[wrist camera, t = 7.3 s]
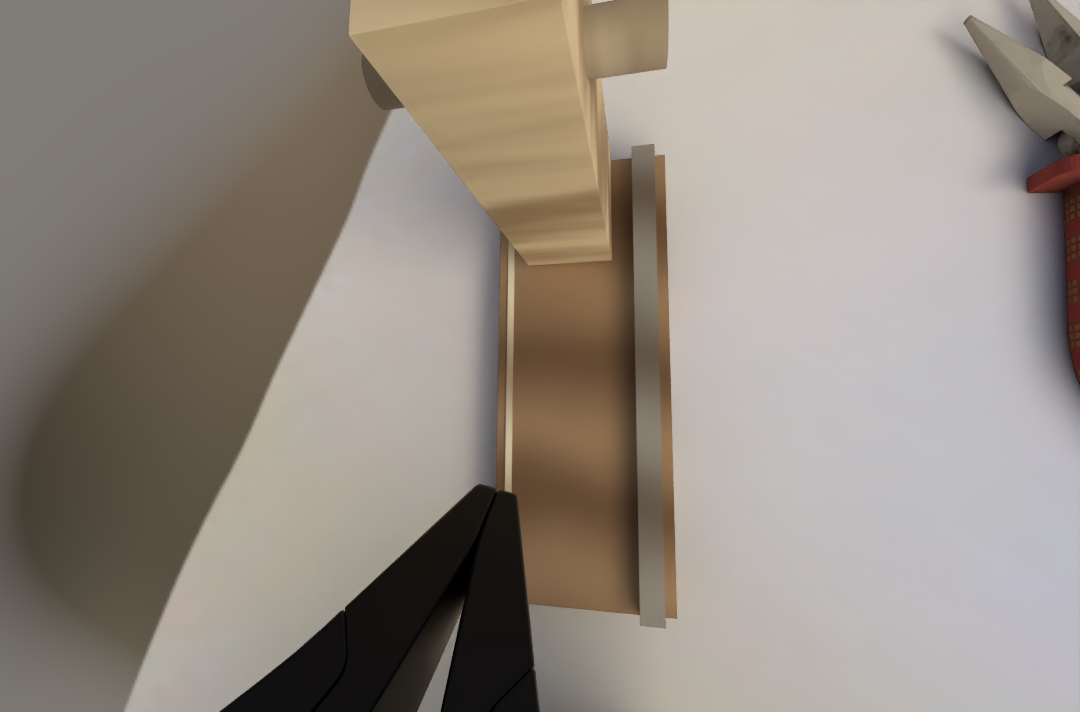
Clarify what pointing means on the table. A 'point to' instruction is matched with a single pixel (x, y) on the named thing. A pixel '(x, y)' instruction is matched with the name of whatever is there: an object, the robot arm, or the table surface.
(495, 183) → the beige boxy piece
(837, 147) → the table surface
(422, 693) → the robot arm
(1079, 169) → the pliers
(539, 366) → the board
